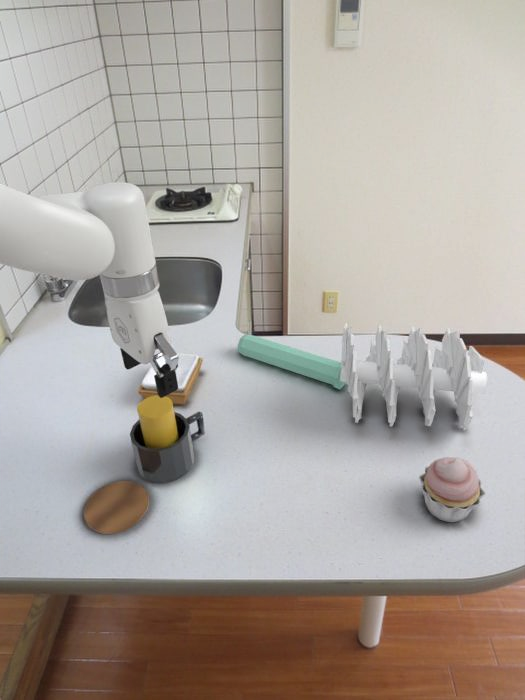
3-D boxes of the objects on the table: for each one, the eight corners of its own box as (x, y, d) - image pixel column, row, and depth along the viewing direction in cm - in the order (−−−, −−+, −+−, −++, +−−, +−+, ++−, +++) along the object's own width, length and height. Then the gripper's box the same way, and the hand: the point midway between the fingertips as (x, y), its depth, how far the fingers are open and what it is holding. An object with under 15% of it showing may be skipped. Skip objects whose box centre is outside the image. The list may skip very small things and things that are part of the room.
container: (235, 331, 113) (340, 364, 101) (250, 329, 118) (352, 359, 106) (231, 357, 115) (334, 392, 103) (246, 354, 120) (346, 386, 108)
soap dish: (187, 410, 102) (184, 389, 99) (140, 405, 103) (135, 385, 100) (204, 372, 112) (202, 352, 109) (161, 368, 113) (157, 349, 111)
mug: (157, 493, 85) (150, 460, 81) (127, 461, 91) (119, 429, 87) (221, 452, 92) (217, 420, 88) (190, 425, 98) (185, 394, 94)
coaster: (71, 525, 80) (70, 522, 80) (107, 477, 88) (106, 475, 88) (128, 541, 78) (127, 539, 77) (160, 490, 85) (159, 488, 85)
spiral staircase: (472, 449, 96) (334, 435, 98) (465, 364, 104) (339, 353, 107) (508, 408, 80) (343, 393, 82) (497, 312, 89) (348, 301, 91)
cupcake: (461, 478, 85) (472, 433, 79) (489, 526, 77) (505, 480, 72) (405, 486, 84) (413, 441, 78) (429, 535, 76) (439, 489, 71)
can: (143, 467, 89) (130, 414, 82) (158, 445, 93) (147, 392, 86) (173, 475, 87) (162, 421, 80) (187, 451, 92) (178, 398, 85)
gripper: (75, 268, 74) (102, 365, 84) (138, 311, 63) (160, 417, 73) (122, 252, 78) (143, 346, 88) (189, 290, 67) (204, 393, 77)
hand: (151, 378), depth 81 cm, fingers open, 9 cm apart
